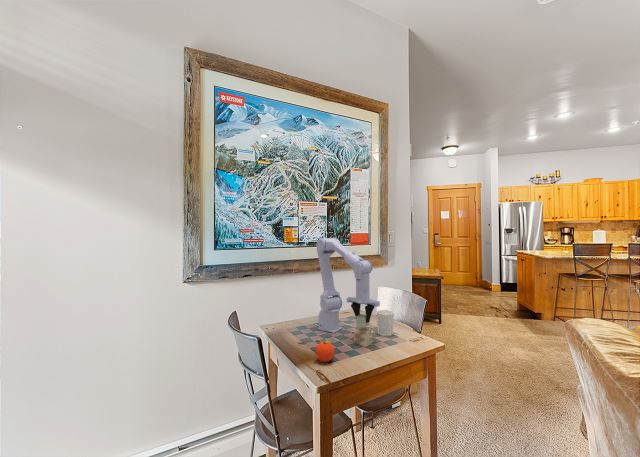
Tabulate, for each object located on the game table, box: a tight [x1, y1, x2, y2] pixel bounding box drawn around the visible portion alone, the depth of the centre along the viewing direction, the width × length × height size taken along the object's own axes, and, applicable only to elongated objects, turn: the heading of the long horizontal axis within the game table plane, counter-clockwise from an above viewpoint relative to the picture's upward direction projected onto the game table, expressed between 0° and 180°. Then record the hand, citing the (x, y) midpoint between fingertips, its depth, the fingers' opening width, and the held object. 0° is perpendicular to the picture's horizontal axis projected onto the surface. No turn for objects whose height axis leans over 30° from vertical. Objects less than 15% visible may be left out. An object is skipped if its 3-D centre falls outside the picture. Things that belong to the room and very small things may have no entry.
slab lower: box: [353, 334, 374, 347], centre depth 125 cm, size 6×6×3 cm
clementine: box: [315, 340, 335, 363], centre depth 108 cm, size 8×7×7 cm
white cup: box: [375, 309, 395, 337], centre depth 135 cm, size 8×8×10 cm
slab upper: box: [353, 326, 372, 340], centre depth 125 cm, size 6×6×3 cm
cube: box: [355, 313, 370, 327], centre depth 125 cm, size 4×4×4 cm
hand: (362, 321), depth 125 cm, fingers closed on cube, 4 cm apart
